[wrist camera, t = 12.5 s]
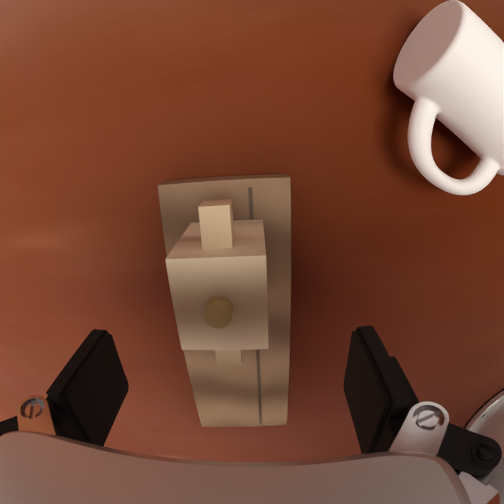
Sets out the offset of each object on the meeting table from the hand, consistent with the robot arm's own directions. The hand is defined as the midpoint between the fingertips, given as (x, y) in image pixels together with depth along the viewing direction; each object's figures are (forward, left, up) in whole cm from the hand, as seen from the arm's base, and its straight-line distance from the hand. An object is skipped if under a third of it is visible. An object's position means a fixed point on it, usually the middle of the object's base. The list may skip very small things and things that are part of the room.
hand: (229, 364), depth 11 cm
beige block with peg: (0, +1, -10) cm, 9 cm away
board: (-6, +1, -12) cm, 13 cm away
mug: (+10, -15, -12) cm, 22 cm away
